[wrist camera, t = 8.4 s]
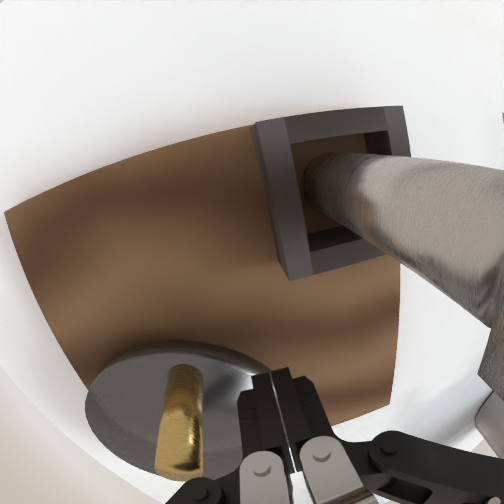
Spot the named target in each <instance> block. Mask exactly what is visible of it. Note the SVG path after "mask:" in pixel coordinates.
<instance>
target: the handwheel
mask: <svg viewBox="0 0 504 504" xmlns="http://www.w3.org/2000/svg"><path fill="white" fill-rule="evenodd" d="M271 371H272V370H271V369H269V368H268V367H267V366H265V365H264V364H263V363H261V362H259V361H257V360H256V359H254V358H252V357H250V356H248V355H246V354H243V353H241V352H238V351H236V350H233V349H230V348H226V347H223V346H220V345H215V344H210V343H205V342H197V341H188V340H165V341H154V342H148V343H143V344H139V345H136V346H133V347H129V348H127V349H125V350H123V351H120V352H118V353H116V354H115V355H114V356H112V357H111V358H109V359H108V360H107V361H106V362H105V363H104V364H103V365H102V366H101V367H100V369H99V370H98V372H97V373H96V375H95V378H94V380H93V382H92V385H91V387H90V389H89V392H88V394H87V397H86V401H85V412H86V418H87V420H88V423H89V425H90V427H91V429H92V431H93V433H94V434H95V435H96V437H97V438H98V439H99V440H100V442H101V443H102V444H103V445H104V446H105V447H106V448H108V449H109V450H110V451H111V452H112V453H114V454H115V455H116V456H118V457H119V458H121V459H122V460H124V461H126V462H127V463H129V464H131V465H133V466H135V467H137V468H139V469H142V470H144V471H147V472H150V473H153V474H156V475H159V476H162V477H164V478H167V479H170V480H174V481H188V480H190V479H193V478H196V477H206V478H210V479H212V480H216V479H218V478H220V477H223V476H225V475H227V474H229V473H231V472H233V471H234V470H235V469H236V468H237V467H238V466H239V465H240V463H241V461H242V457H243V451H242V443H241V435H240V426H239V417H238V408H237V400H238V397H239V395H240V392H241V391H244V390H249V389H253V385H252V379H251V376H253V375H257V374H261V373H266V372H269V374H270V378H271V382H272V386H273V389H274V393H275V397H276V401H277V405H278V409H279V413H280V417H281V420H282V424H283V428H284V432H285V436H286V440H287V444H288V448H289V447H290V445H289V441H288V437H287V433H286V429H285V426H284V422H283V418H282V414H281V410H280V406H279V403H278V399H277V395H276V391H275V387H274V383H273V379H272V375H271Z"/></svg>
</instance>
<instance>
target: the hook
mask: <svg viewBox="0 0 504 504" xmlns="http://www.w3.org/2000/svg"><path fill="white" fill-rule="evenodd" d="M502 115H503V122H504V113H502ZM302 189H303V193H304V196H305V198H306V200H307V201H308V202H309V204H310V205H311V206H312V207H314V208H315V209H317V210H318V211H320V212H322V213H323V214H325V215H327V216H328V217H330V218H332V219H333V220H335V221H337V222H338V223H340V224H341V225H343V226H345V227H346V228H348V229H350V230H351V231H353V232H354V233H356V234H357V235H359V236H361V237H362V238H364V239H365V240H367V241H368V242H370V243H372V244H373V245H375V246H376V247H378V248H379V249H381V250H382V251H384V252H385V253H387V254H388V255H390V256H391V257H393V258H394V259H396V260H397V261H399V262H400V263H402V264H403V265H405V266H406V267H408V268H409V269H410V270H412V271H413V272H415V273H416V274H418V275H419V276H420V277H422V278H423V279H425V280H426V281H428V282H429V283H430V284H432V285H433V286H435V287H436V288H437V289H439V290H440V291H441V292H443V293H444V294H445V295H447V296H448V297H450V298H451V299H452V300H454V301H455V302H456V303H458V304H459V305H460V306H462V307H463V308H464V309H465V310H467V311H468V312H469V313H471V314H472V315H473V316H474V317H476V318H477V319H478V320H480V321H481V322H482V323H483V324H485V325H486V326H487V327H489V328H491V332H490V335H489V339H488V342H487V346H486V349H485V352H484V355H483V358H482V362H481V364H480V367H479V370H478V373H477V374H478V375H479V376H480V377H481V378H482V379H483V380H484V381H485V382H486V383H487V385H488V386H489V387H490V388H491V389H492V390H493V391H494V392H495V393H496V394H497V395H498V396H499V397H500V398H501V400H502V401H503V402H504V170H498V169H493V168H488V167H482V166H476V165H470V164H463V163H457V162H449V161H442V160H434V159H425V158H415V157H404V156H392V155H378V154H360V153H323V154H320V155H318V156H316V157H315V158H313V159H312V160H311V161H310V162H309V163H308V165H307V166H306V168H305V170H304V173H303V176H302Z"/></svg>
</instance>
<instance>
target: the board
mask: <svg viewBox="0 0 504 504" xmlns="http://www.w3.org/2000/svg"><path fill="white" fill-rule="evenodd" d="M323 153H360V154H378V155H392V156H404V157H411V153H410V145H409V139H408V133H407V127H406V121H405V116H404V111H403V106H384V107H367V108H354V109H343V110H333V111H324V112H316V113H309V114H302V115H295V116H288V117H282V118H276V119H271V120H265V121H260V122H256V123H255V124H254V125H249V126H244V127H240V128H235V129H230V130H226V131H222V132H217V133H213V134H209V135H205V136H201V137H197V138H193V139H190V140H186V141H182V142H179V143H175V144H172V145H168V146H165V147H162V148H158V149H155V150H152V151H149V152H146V153H143V154H140V155H136V156H133V157H131V158H128V159H125V160H122V161H119V162H116V163H113V164H111V165H108V166H105V167H103V168H100V169H97V170H95V171H92V172H90V173H87V174H85V175H82V176H80V177H77V178H75V179H73V180H70V181H68V182H65V183H63V184H61V185H59V186H56V187H54V188H52V189H50V190H48V191H45V192H43V193H41V194H39V195H37V196H35V197H33V198H31V199H29V200H27V201H25V202H23V203H21V204H19V205H17V206H15V207H13V208H11V209H9V210H7V211H5V212H4V214H5V218H6V221H7V224H8V228H9V231H10V234H11V237H12V240H13V243H14V246H15V249H16V252H17V254H18V257H19V260H20V262H21V265H22V267H23V270H24V272H25V275H26V277H27V280H28V282H29V284H30V287H31V289H32V291H33V293H34V296H35V298H36V300H37V302H38V304H39V306H40V308H41V310H42V313H43V315H44V317H45V319H46V320H47V322H48V324H49V326H50V328H51V330H52V332H53V334H54V336H55V337H56V339H57V341H58V343H59V344H60V346H61V348H62V350H63V351H64V353H65V355H66V356H67V358H68V360H69V361H70V363H71V365H72V366H73V368H74V369H75V371H76V372H77V374H78V376H79V377H80V379H81V380H82V382H83V383H84V385H85V386H86V387H87V389H88V390H89V389H90V387H91V385H92V382H93V380H94V378H95V375H96V373H97V372H98V370H99V369H100V367H101V366H102V365H103V364H104V363H105V362H106V361H107V360H108V359H109V358H111V357H112V356H114V355H115V354H116V353H118V352H120V351H123V350H125V349H127V348H129V347H133V346H136V345H139V344H143V343H148V342H154V341H165V340H188V341H197V342H205V343H210V344H215V345H220V346H223V347H226V348H230V349H233V350H236V351H238V352H241V353H243V354H246V355H248V356H250V357H252V358H254V359H256V360H257V361H259V362H261V363H263V364H264V365H265V366H267V367H268V368H269V369H271V370H272V371H273V370H277V369H281V368H285V367H289V370H290V373H291V376H292V379H293V378H297V377H301V376H304V375H305V376H306V377H307V378H308V379H309V380H310V381H312V382H313V384H314V386H315V388H316V391H317V394H318V396H319V398H320V401H321V403H322V406H323V408H324V410H325V413H326V415H327V418H328V420H329V423H330V425H331V426H333V425H336V424H339V423H342V422H345V421H348V420H351V419H354V418H356V417H359V416H362V415H364V414H367V413H369V412H372V411H374V410H377V409H379V408H382V407H384V406H387V405H389V404H390V398H391V391H392V384H393V377H394V369H395V360H396V350H397V339H398V325H399V306H400V262H399V261H397V260H396V259H394V258H393V257H391V256H390V255H388V254H387V253H385V252H384V251H382V250H381V249H379V248H378V247H376V246H375V245H373V244H372V243H370V242H368V241H367V240H365V239H364V238H362V237H361V236H359V235H357V234H356V233H354V232H353V231H351V230H350V229H348V228H346V227H345V226H343V225H341V224H340V223H338V222H337V221H335V220H333V219H332V218H330V217H328V216H327V215H325V214H323V213H322V212H320V211H318V210H317V209H315V208H314V207H312V206H311V205H310V204H309V202H308V201H307V200H306V198H305V196H304V193H303V189H302V176H303V173H304V170H305V168H306V166H307V165H308V163H309V162H310V161H311V160H312V159H313V158H315V157H316V156H318V155H320V154H323Z"/></svg>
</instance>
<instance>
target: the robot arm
mask: <svg viewBox="0 0 504 504" xmlns="http://www.w3.org/2000/svg"><path fill="white" fill-rule="evenodd" d="M271 375H272V379H273V383H274V387H275V391H276V395H277V399H278V403H279V406H280V410H281V414H282V418H283V422H284V426H285V429H286V433H287V437H288V441H289V445H290V448H291V452H292V456H293V460H294V464H295V467H296V471H297V472H299V471H302V472H303V476H304V479H305V483H306V487H307V490H308V493H309V495H310V498H311V500H312V503H313V504H379V503H378V501H377V500H376V498H375V496H374V495H373V493H374V494H377V495H379V496H382V497H384V498H387V499H389V500H392V501H395V502H398V503H400V504H504V402H503V401H502V400H501V398H500V397H499V396H498V395H497V394H496V393H495V392H493V393H492V394H491V396H490V397H489V398H488V399H487V401H486V402H485V403H484V404H483V406H482V407H481V409H480V410H479V412H478V414H477V416H476V418H475V422H476V423H477V424H476V426H475V427H476V428H477V430H478V431H479V432H480V433H481V435H482V436H483V437H484V439H485V440H486V441H487V443H488V444H489V445H490V447H491V448H492V449H493V451H494V452H495V453H496V455H497V456H498V458H496V457H491V456H486V455H481V454H476V453H472V452H468V451H464V450H460V449H456V448H452V447H448V446H445V445H441V444H438V443H434V442H431V441H427V440H424V439H421V438H418V437H414V436H411V435H408V434H405V433H402V432H399V431H386V432H383V433H380V434H379V435H377V436H376V437H375V438H374V439H373V440H372V441H366V442H347V441H344V440H341V439H340V438H338V437H337V436H336V435H335V434H334V432H333V430H332V428H331V425H330V423H329V420H328V418H327V415H326V413H325V410H324V408H323V406H322V403H321V401H320V398H319V396H318V394H317V391H316V388H315V386H314V384H313V382H312V381H310V380H309V379H308V378H307V377H306V376H305V375H304V376H301V377H297V378H293V379H292V376H291V373H290V370H289V367H285V368H281V369H277V370H273V371H271ZM251 379H252V385H253V389H249V390H244V391H241V392H240V395H239V397H238V400H237V408H238V417H239V426H240V435H241V443H242V451H243V457H242V461H241V463H240V465H239V466H238V467H237V468H236V469H235V470H234V471H233V472H231V473H229V474H227V475H225V476H223V477H220V478H218V479H216V480H212V479H210V478H206V477H196V478H193V479H190V480H188V481H187V482H186V483H184V484H183V485H182V487H181V488H180V489H179V490H178V491H177V492H176V493H175V494H174V495H173V496H172V497H171V498H170V499H169V500H168V501H167V502H166V503H165V504H294V498H293V492H292V491H293V486H292V482H291V478H290V474H292V473H295V471H294V467H293V463H292V459H291V455H290V452H289V448H288V444H287V440H286V436H285V432H284V428H283V424H282V420H281V417H280V413H279V409H278V405H277V401H276V397H275V393H274V389H273V386H272V382H271V378H270V374H269V372H266V373H261V374H257V375H253V376H251Z"/></svg>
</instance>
